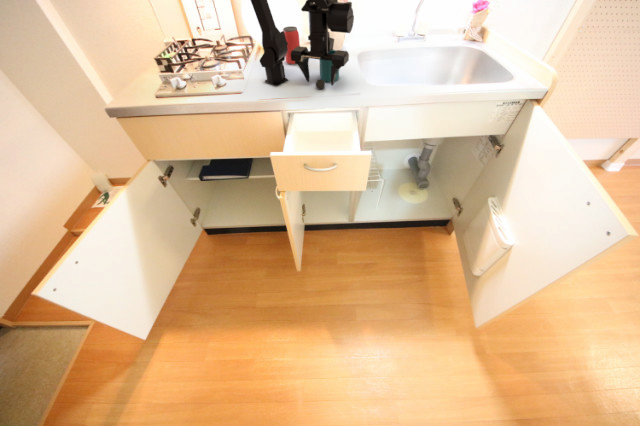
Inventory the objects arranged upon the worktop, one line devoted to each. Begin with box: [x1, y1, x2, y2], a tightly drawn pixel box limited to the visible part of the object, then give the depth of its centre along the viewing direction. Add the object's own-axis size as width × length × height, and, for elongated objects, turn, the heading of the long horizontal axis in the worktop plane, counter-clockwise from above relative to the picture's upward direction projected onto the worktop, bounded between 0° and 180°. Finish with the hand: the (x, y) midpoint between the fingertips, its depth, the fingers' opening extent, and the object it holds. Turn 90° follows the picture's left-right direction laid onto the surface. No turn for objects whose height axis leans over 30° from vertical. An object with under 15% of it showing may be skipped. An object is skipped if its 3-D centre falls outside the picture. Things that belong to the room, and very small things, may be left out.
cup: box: [328, 29, 346, 51], centre depth 106 cm, size 12×12×10 cm
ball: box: [315, 78, 326, 90], centre depth 86 cm, size 3×3×3 cm
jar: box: [318, 50, 340, 83], centre depth 89 cm, size 7×7×8 cm
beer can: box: [282, 26, 301, 65], centre depth 99 cm, size 7×7×12 cm
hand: (320, 83), depth 85 cm, fingers open, 9 cm apart
